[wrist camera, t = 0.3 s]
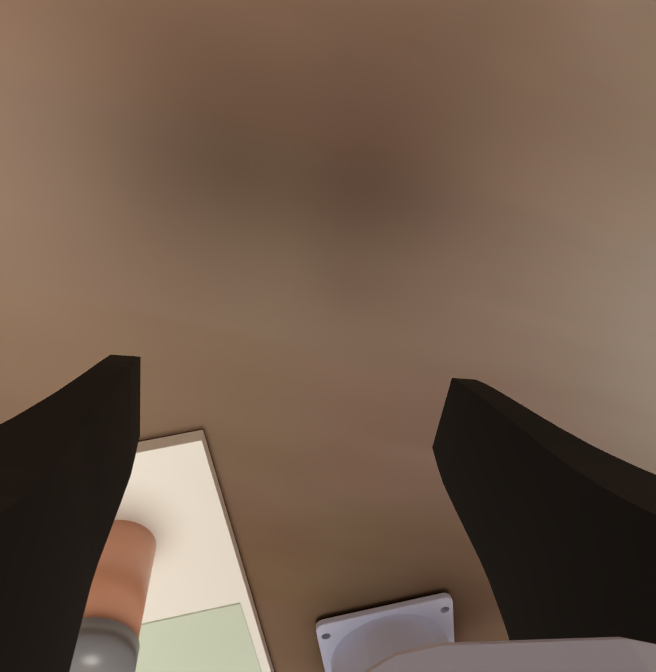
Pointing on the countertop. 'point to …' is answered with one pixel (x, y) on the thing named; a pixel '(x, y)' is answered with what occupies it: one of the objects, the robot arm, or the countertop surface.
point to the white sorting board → (191, 564)
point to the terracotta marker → (116, 602)
